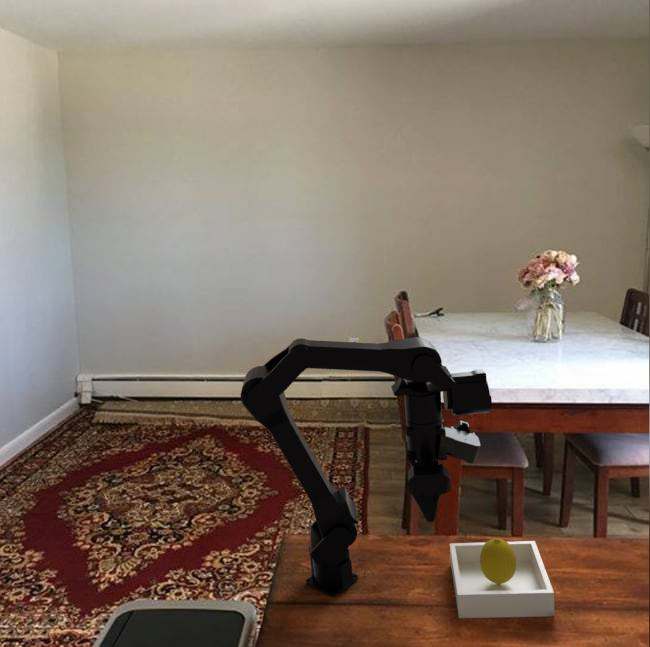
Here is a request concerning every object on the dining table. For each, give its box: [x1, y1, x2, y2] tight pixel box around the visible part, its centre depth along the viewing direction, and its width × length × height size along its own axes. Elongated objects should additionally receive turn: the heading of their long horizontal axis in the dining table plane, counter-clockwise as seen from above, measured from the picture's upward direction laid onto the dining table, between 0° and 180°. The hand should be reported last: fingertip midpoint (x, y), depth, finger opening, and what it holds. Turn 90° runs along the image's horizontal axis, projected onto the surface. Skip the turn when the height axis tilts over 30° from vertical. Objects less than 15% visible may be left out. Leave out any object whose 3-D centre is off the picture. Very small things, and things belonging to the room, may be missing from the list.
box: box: [449, 540, 555, 619], centre depth 110 cm, size 14×14×4 cm
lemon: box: [480, 537, 516, 585], centre depth 110 cm, size 6×6×8 cm
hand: (429, 506), depth 114 cm, fingers open, 9 cm apart
